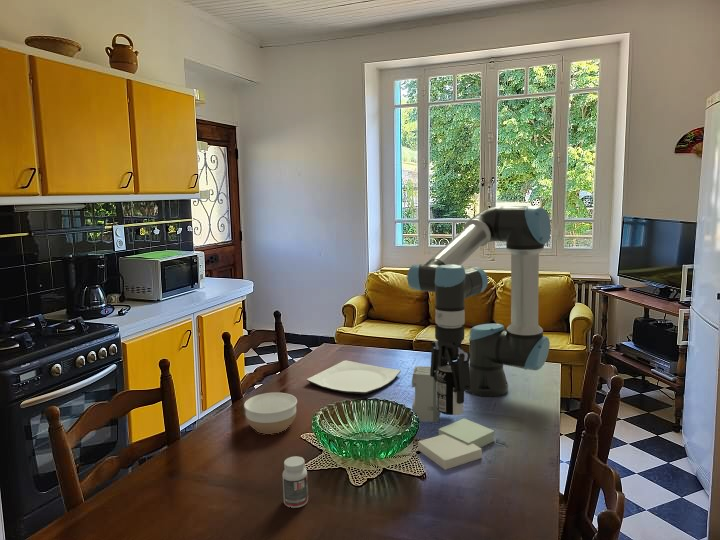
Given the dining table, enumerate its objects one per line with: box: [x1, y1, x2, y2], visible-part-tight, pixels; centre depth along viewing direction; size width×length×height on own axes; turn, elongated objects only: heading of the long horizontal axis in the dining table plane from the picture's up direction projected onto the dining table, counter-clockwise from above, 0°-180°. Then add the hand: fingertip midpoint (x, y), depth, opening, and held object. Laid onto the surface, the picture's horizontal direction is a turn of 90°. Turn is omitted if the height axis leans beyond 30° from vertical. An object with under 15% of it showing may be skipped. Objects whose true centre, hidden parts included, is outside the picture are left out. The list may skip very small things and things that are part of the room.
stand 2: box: [417, 434, 483, 471], centre depth 142 cm, size 12×12×2 cm
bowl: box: [243, 392, 298, 435], centre depth 161 cm, size 16×16×8 cm
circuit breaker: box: [411, 365, 441, 423], centre depth 164 cm, size 8×14×15 cm, turn 78°
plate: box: [306, 359, 402, 395], centre depth 199 cm, size 29×29×3 cm
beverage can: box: [437, 363, 460, 416], centre depth 139 cm, size 7×7×12 cm
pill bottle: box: [281, 455, 309, 509], centre depth 121 cm, size 6×6×10 cm
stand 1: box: [438, 418, 495, 449], centre depth 149 cm, size 11×11×3 cm
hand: (449, 409), depth 140 cm, fingers closed on beverage can, 7 cm apart
